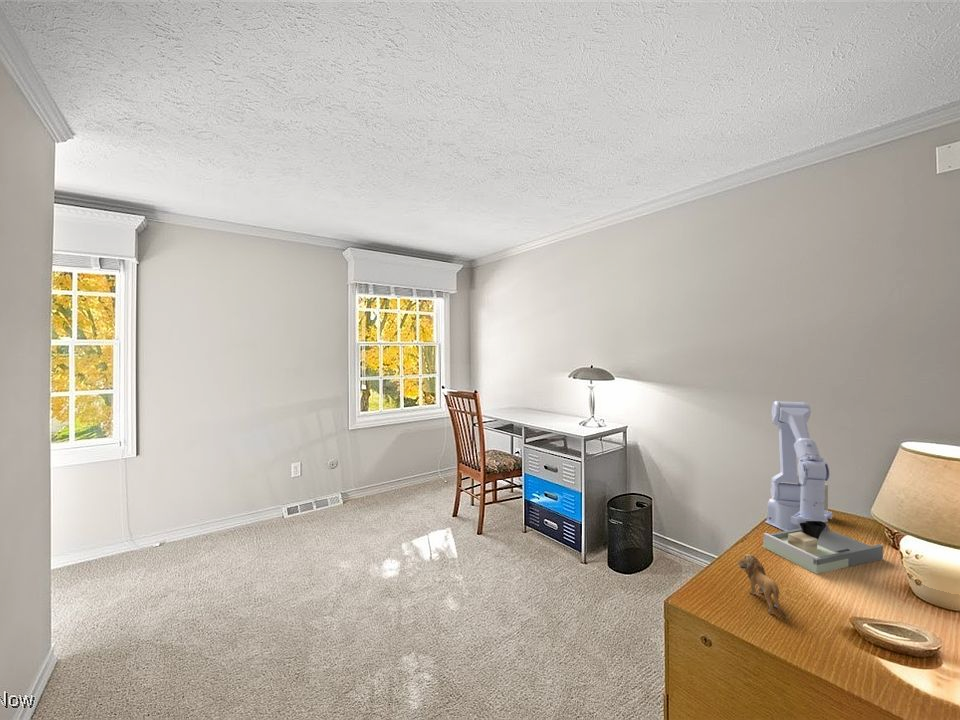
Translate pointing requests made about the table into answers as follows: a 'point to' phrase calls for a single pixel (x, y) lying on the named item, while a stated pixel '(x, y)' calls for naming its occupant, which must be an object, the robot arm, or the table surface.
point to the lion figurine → (760, 581)
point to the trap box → (824, 551)
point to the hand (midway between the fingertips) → (811, 544)
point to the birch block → (803, 542)
